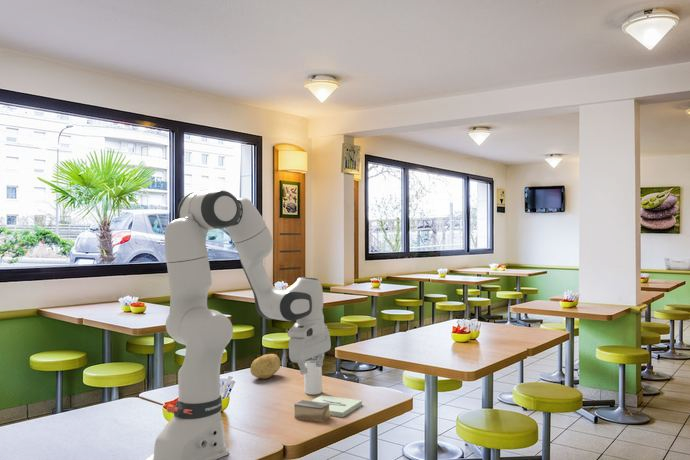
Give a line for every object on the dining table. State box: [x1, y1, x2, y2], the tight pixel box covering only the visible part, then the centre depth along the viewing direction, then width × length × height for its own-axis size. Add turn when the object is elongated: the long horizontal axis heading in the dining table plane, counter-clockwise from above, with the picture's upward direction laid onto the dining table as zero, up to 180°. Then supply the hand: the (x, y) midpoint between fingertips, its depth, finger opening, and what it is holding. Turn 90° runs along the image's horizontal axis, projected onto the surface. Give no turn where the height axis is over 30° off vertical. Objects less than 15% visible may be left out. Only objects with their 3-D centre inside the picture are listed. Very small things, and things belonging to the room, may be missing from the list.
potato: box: [249, 353, 281, 379], centre depth 229 cm, size 10×14×10 cm
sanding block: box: [293, 399, 331, 423], centre depth 178 cm, size 5×10×4 cm, turn 63°
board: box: [310, 394, 363, 418], centre depth 187 cm, size 14×16×2 cm
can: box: [303, 358, 323, 396], centre depth 206 cm, size 6×6×12 cm
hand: (311, 370), depth 178 cm, fingers open, 8 cm apart
